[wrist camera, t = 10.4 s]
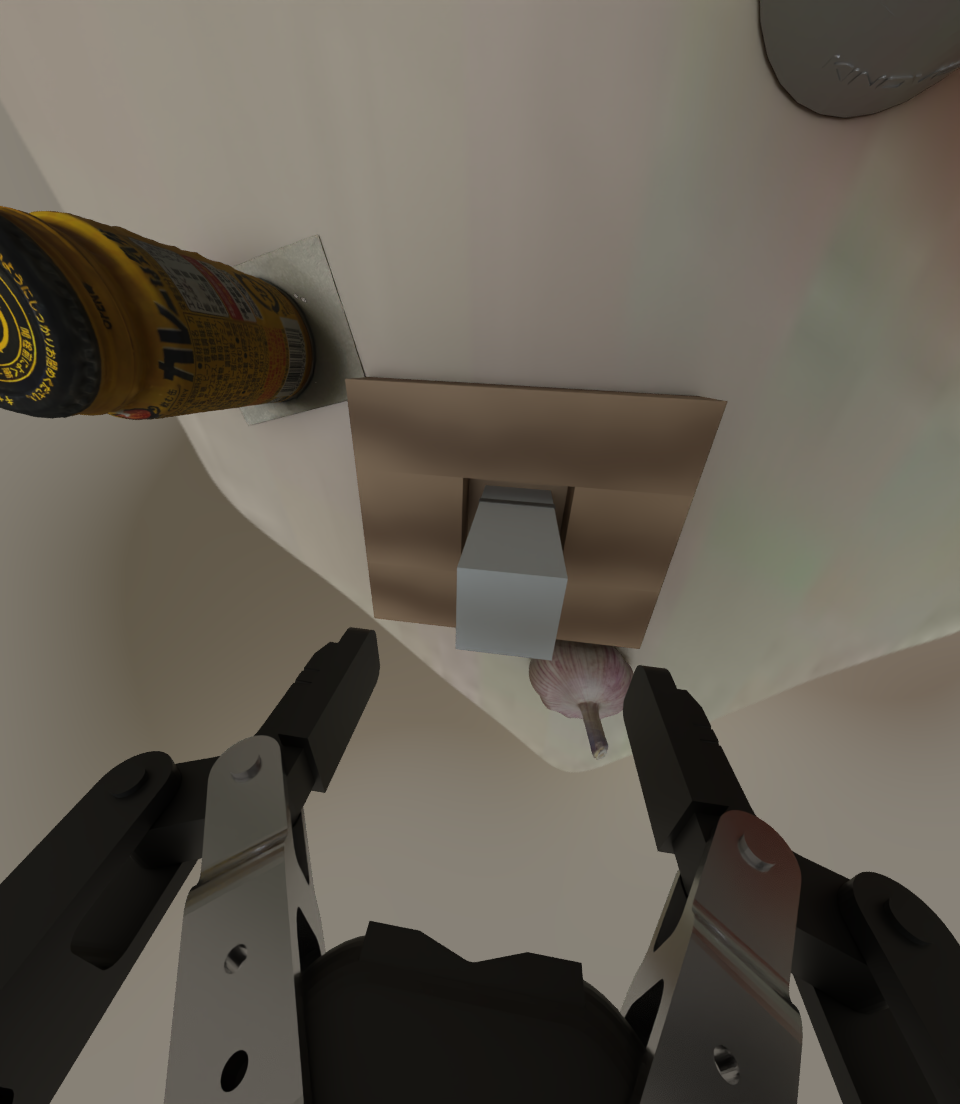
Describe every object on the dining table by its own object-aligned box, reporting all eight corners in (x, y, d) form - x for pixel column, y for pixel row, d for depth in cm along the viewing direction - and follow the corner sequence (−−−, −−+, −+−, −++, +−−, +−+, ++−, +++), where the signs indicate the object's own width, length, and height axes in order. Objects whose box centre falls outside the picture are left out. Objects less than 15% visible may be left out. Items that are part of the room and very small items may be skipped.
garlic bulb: (646, 661, 27) (687, 763, 20) (574, 702, 30) (588, 803, 23) (580, 604, 26) (600, 694, 19) (511, 654, 29) (506, 748, 22)
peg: (484, 484, 22) (455, 566, 13) (551, 489, 21) (569, 577, 12) (481, 543, 23) (454, 649, 15) (542, 549, 23) (552, 661, 14)
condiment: (183, 286, 19) (-247, 187, 8) (319, 235, 17) (-7, 30, 7) (250, 425, 22) (0, 479, 12) (371, 394, 20) (206, 424, 10)
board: (368, 376, 20) (344, 378, 17) (698, 396, 18) (727, 401, 16) (389, 593, 27) (374, 618, 24) (627, 619, 26) (639, 649, 23)
